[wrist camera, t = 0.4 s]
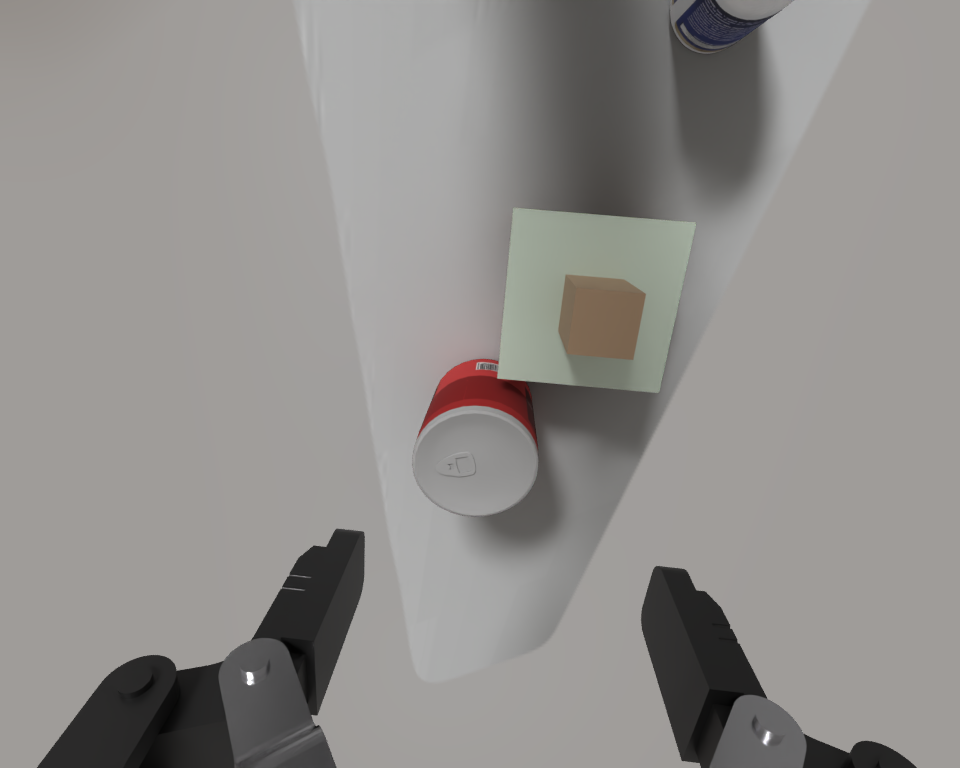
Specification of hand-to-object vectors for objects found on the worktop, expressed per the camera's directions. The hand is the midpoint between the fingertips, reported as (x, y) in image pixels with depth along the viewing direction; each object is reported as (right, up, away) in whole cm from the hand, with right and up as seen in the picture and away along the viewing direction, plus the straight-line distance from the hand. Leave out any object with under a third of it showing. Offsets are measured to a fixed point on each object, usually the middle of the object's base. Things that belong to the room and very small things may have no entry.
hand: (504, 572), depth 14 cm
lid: (+6, +10, +17) cm, 21 cm away
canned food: (0, +4, +27) cm, 28 cm away
